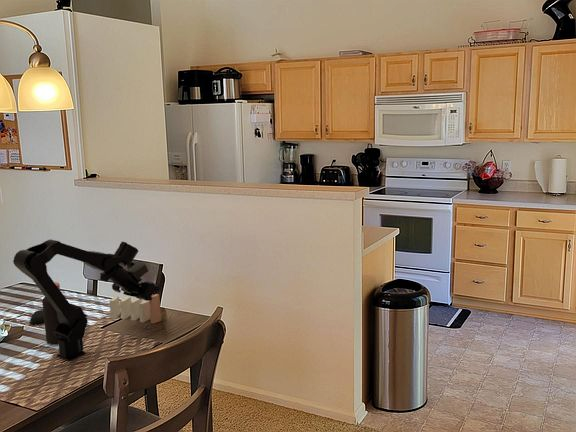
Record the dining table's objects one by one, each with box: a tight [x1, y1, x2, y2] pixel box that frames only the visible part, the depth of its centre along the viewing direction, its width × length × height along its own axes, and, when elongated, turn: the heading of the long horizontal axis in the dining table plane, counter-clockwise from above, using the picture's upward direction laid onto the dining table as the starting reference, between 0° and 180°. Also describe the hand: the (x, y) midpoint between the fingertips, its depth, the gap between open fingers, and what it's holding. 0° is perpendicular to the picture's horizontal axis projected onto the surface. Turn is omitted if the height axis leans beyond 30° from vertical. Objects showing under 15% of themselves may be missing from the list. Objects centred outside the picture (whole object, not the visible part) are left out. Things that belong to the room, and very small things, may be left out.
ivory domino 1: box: [109, 295, 121, 320], centre depth 213 cm, size 2×5×7 cm, turn 173°
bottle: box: [41, 282, 61, 345], centre depth 190 cm, size 7×7×20 cm
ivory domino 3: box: [130, 298, 143, 321], centre depth 211 cm, size 2×5×7 cm, turn 158°
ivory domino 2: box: [119, 296, 132, 320], centre depth 212 cm, size 2×5×7 cm, turn 165°
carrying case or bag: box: [29, 309, 45, 325], centre depth 212 cm, size 11×3×15 cm
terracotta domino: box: [149, 293, 162, 324], centre depth 206 cm, size 2×4×10 cm, turn 144°
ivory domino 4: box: [139, 300, 150, 323], centre depth 209 cm, size 2×5×7 cm, turn 150°
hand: (148, 298), depth 204 cm, fingers open, 3 cm apart
